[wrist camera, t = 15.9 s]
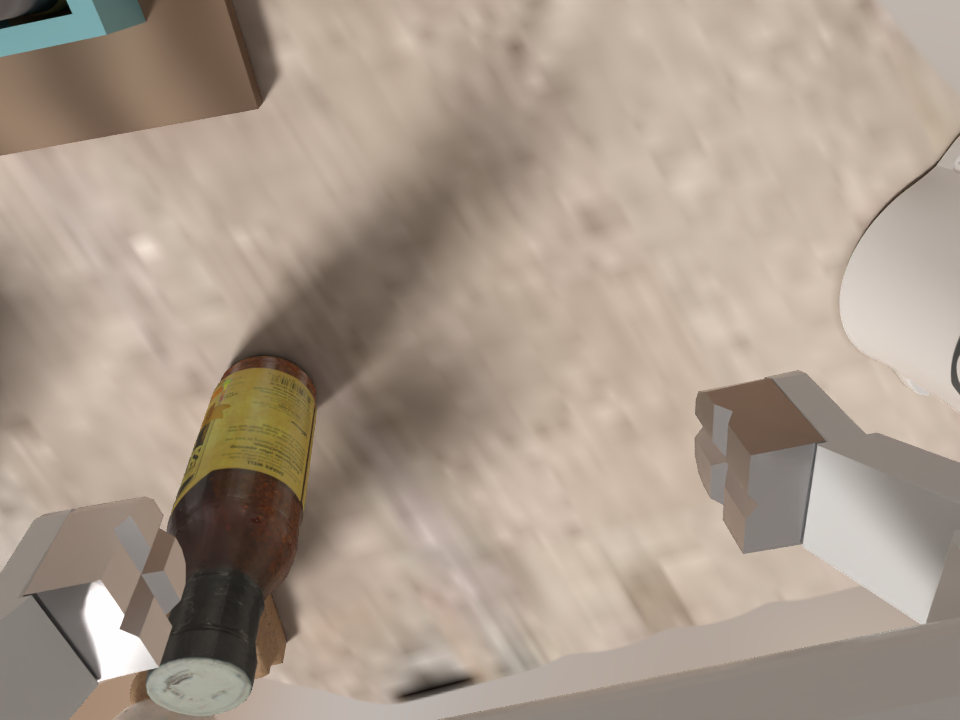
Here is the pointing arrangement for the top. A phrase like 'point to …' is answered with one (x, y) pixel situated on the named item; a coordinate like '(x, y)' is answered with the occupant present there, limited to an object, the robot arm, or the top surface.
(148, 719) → the candle holder
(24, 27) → the teal collar
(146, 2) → the post stand
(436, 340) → the top surface
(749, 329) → the top surface
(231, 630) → the sauce bottle
